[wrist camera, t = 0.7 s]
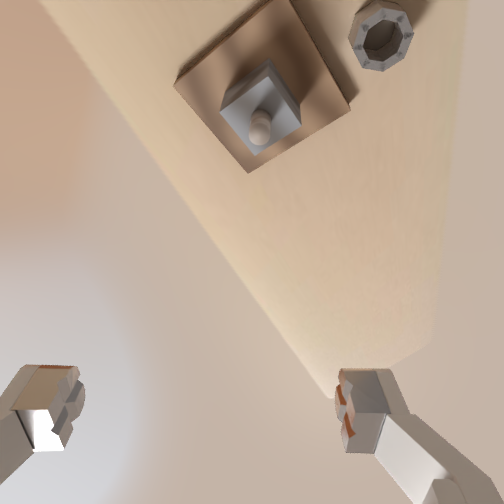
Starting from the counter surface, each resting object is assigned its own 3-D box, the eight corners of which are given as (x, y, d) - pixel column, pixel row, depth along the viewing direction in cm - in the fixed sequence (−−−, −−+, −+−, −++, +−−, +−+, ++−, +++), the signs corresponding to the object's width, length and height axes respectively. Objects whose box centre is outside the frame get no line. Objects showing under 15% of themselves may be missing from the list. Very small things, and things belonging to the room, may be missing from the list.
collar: (391, -12, 40) (399, -5, 38) (410, 37, 44) (419, 48, 41) (341, 24, 43) (345, 34, 40) (363, 68, 46) (368, 80, 44)
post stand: (283, -13, 41) (283, 14, 32) (348, 104, 50) (362, 149, 41) (175, 80, 49) (153, 121, 40) (248, 166, 57) (243, 215, 49)
